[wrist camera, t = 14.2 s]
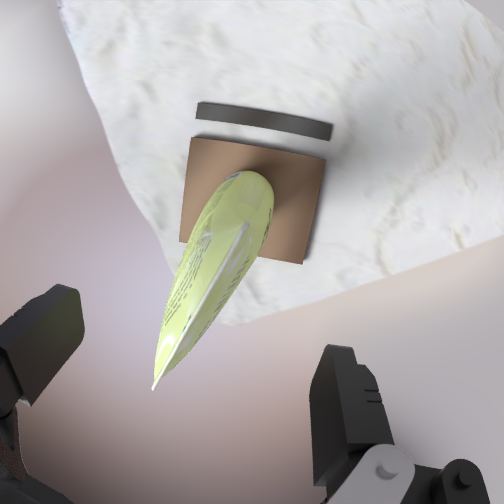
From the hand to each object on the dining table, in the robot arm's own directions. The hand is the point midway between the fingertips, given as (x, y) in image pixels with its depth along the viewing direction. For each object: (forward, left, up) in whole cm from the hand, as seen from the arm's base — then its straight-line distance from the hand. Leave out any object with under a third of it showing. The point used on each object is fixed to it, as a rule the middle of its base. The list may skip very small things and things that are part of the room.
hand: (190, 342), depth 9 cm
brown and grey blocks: (0, -2, -21) cm, 21 cm away
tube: (0, 0, -20) cm, 20 cm away
